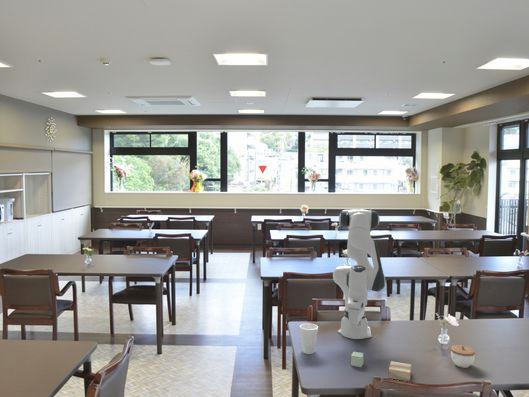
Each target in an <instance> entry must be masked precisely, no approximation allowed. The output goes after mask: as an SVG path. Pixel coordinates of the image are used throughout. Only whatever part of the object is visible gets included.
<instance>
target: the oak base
mask: <svg viewBox="0 0 529 397" xmlns="http://www.w3.org/2000/svg"><path fill="white" fill-rule="evenodd" d="M411 376H412V364H411V363H405V362H399V361H398V362H397V361H392V360H391V361H390V364H389V366H388V379H394V380H399V381H405V382H411Z"/></svg>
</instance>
